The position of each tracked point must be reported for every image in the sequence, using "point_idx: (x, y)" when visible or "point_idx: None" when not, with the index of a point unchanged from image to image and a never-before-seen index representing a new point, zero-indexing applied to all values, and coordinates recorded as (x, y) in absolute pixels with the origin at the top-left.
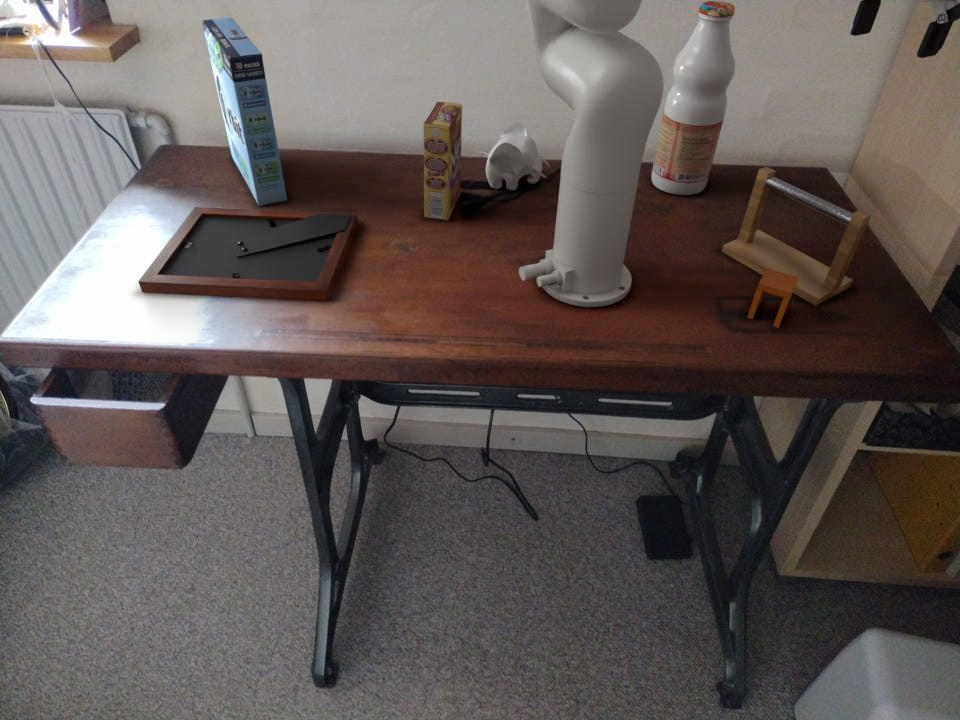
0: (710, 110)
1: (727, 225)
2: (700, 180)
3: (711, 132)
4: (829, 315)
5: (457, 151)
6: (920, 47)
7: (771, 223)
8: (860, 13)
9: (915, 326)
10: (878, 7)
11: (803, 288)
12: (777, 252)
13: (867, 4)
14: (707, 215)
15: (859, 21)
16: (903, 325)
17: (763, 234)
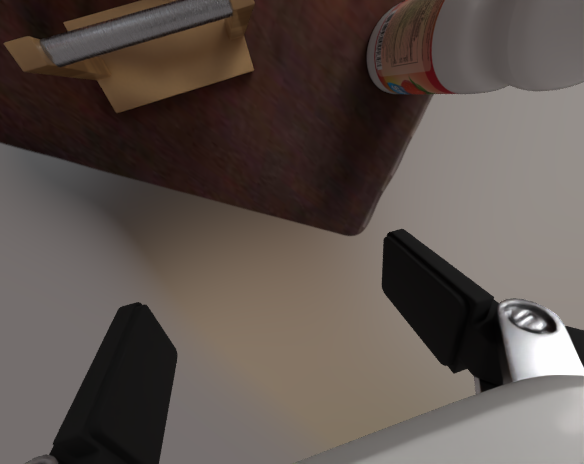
0: (459, 14)
1: (287, 48)
2: (374, 56)
3: (422, 42)
4: (44, 30)
5: None
6: (124, 323)
7: (276, 114)
8: (440, 271)
9: (27, 132)
10: (431, 347)
11: (92, 19)
12: (193, 53)
13: (460, 310)
14: (317, 36)
15: (414, 259)
16: (27, 119)
17: (240, 67)
